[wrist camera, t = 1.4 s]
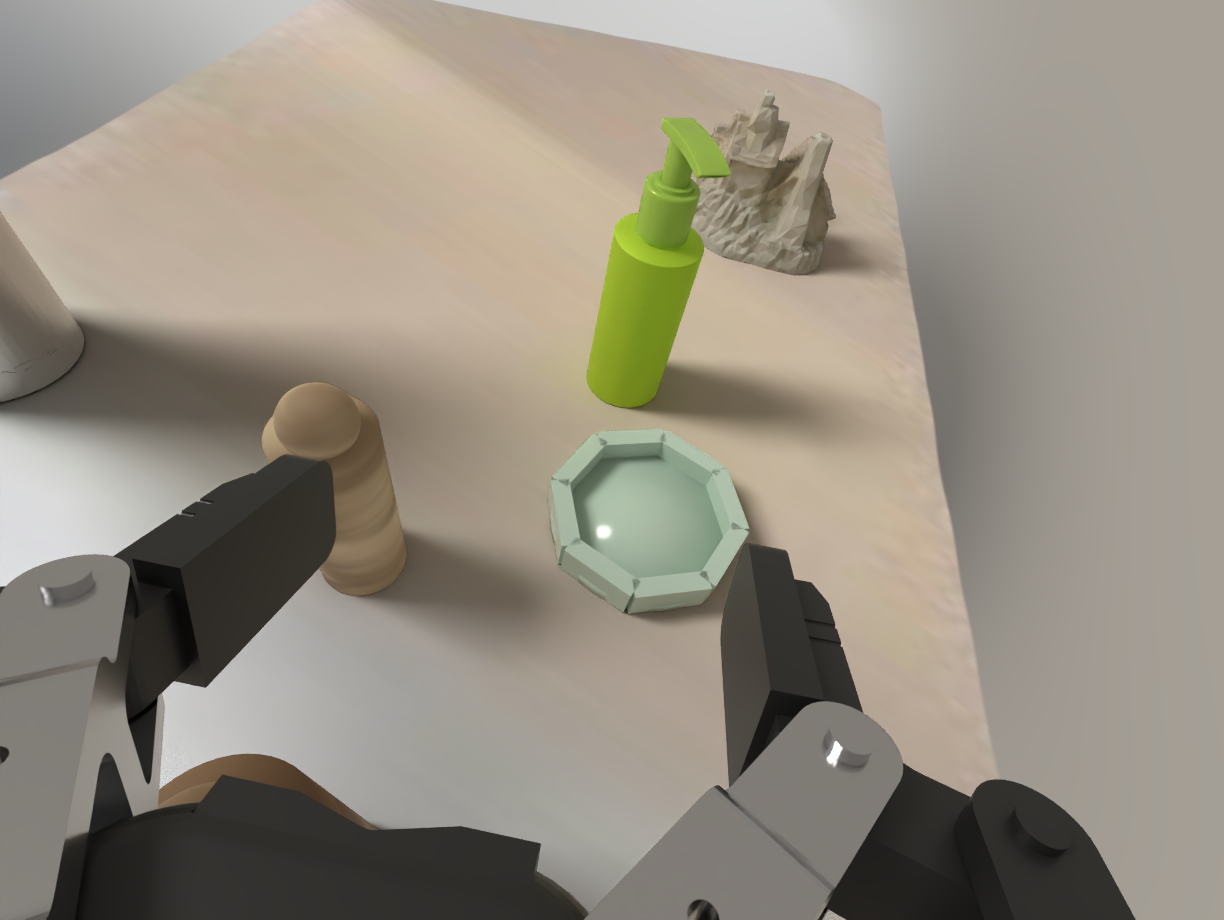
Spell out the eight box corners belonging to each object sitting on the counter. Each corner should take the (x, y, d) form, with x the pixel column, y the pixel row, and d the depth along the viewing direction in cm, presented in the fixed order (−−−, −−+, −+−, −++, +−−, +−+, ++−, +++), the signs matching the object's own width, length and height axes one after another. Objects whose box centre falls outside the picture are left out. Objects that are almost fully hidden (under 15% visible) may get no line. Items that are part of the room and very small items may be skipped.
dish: (510, 534, 39) (512, 515, 37) (617, 422, 46) (622, 401, 44) (675, 652, 36) (686, 637, 34) (761, 512, 43) (774, 494, 41)
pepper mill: (241, 906, 26) (-39, 902, 12) (339, 794, 29) (204, 687, 15) (328, 993, 25) (129, 1100, 11) (420, 867, 28) (355, 825, 14)
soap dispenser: (604, 423, 46) (667, 166, 30) (577, 359, 49) (621, 99, 33) (673, 411, 48) (767, 164, 32) (642, 351, 51) (713, 102, 35)
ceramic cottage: (815, 288, 61) (888, 131, 50) (661, 240, 63) (699, 78, 51) (825, 222, 71) (888, 80, 60) (693, 183, 73) (730, 38, 62)
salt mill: (303, 563, 35) (215, 397, 24) (366, 510, 38) (316, 338, 27) (362, 611, 34) (301, 462, 23) (423, 552, 37) (396, 392, 26)
